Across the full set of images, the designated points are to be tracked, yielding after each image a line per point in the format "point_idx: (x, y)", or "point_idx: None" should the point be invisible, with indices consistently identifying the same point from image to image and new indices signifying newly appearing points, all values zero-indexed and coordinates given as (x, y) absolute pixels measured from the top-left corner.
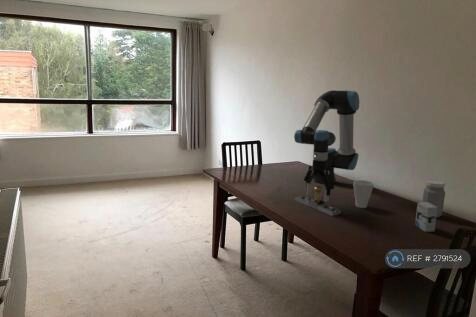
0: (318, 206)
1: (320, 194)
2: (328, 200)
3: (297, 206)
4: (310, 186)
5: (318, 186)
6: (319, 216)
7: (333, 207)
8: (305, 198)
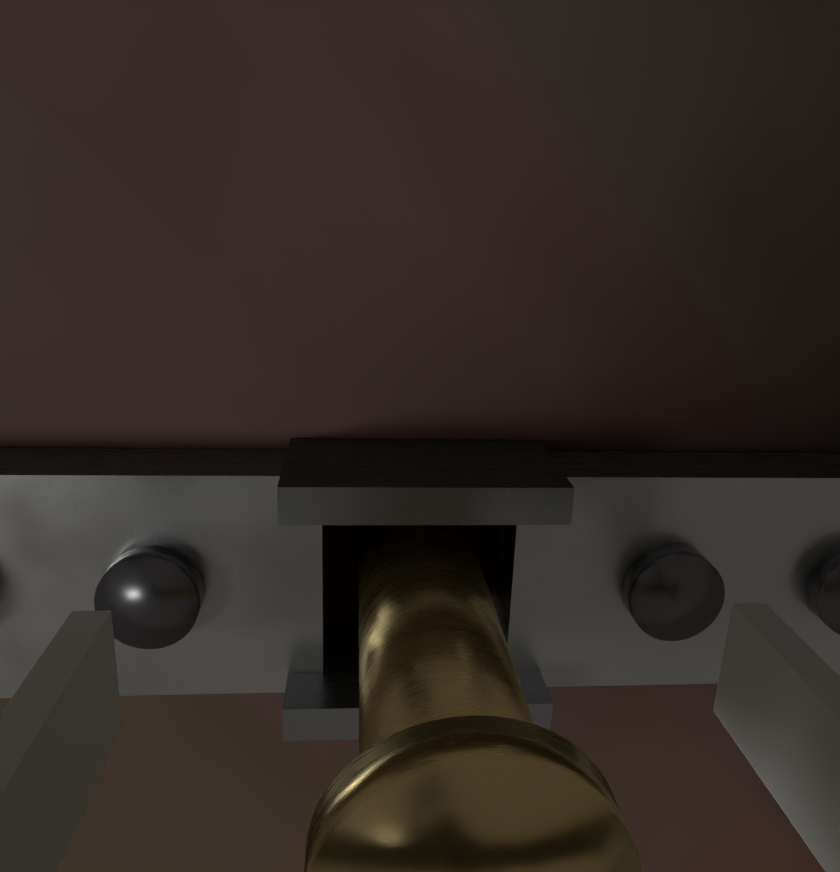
0: (572, 684)
1: (524, 697)
2: (770, 620)
3: (228, 819)
4: (18, 820)
5: (377, 817)
6: (760, 808)
7: (790, 479)
8: (27, 581)
